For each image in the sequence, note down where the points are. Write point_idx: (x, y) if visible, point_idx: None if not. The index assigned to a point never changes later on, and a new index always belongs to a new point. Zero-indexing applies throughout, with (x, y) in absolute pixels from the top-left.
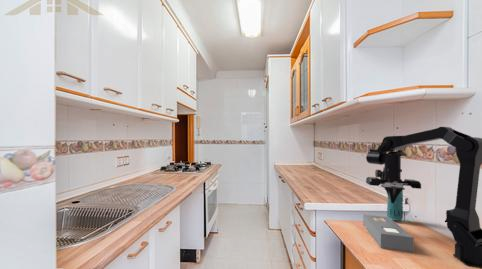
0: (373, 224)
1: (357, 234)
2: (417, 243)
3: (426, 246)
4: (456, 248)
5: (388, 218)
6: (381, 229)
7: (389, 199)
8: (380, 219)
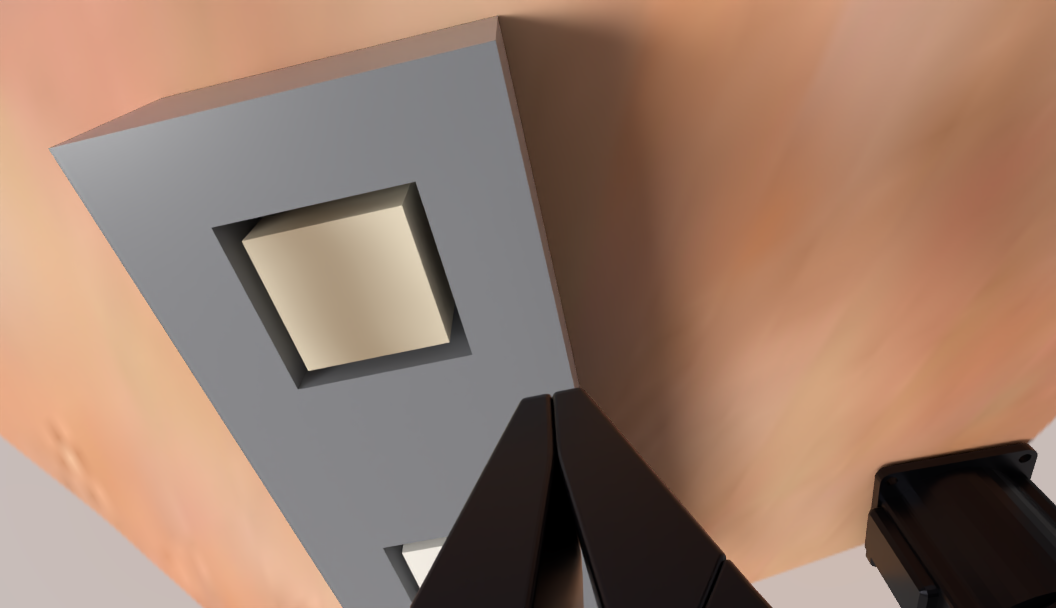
0: (302, 525)
1: (197, 423)
2: (707, 364)
3: (759, 391)
4: (902, 581)
5: (487, 169)
6: (387, 606)
7: (490, 461)
8: (364, 292)
